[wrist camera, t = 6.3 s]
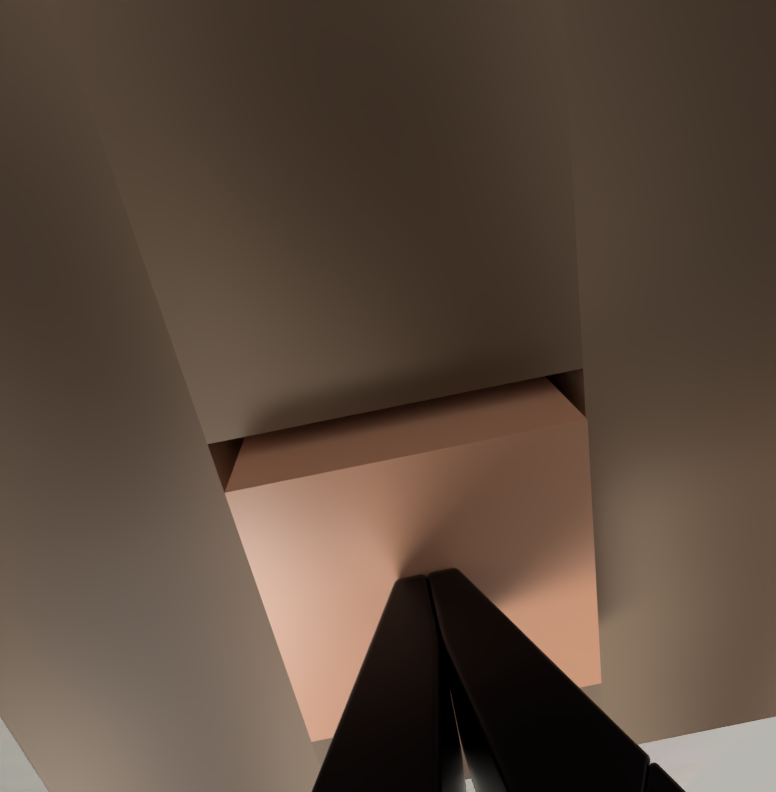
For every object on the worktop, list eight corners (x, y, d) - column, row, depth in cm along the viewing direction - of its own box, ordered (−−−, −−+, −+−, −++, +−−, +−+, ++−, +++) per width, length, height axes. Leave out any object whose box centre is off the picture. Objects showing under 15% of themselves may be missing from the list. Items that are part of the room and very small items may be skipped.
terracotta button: (320, 582, 12) (311, 741, 8) (262, 386, 10) (224, 492, 7) (529, 539, 12) (601, 683, 8) (506, 338, 10) (587, 419, 7)
